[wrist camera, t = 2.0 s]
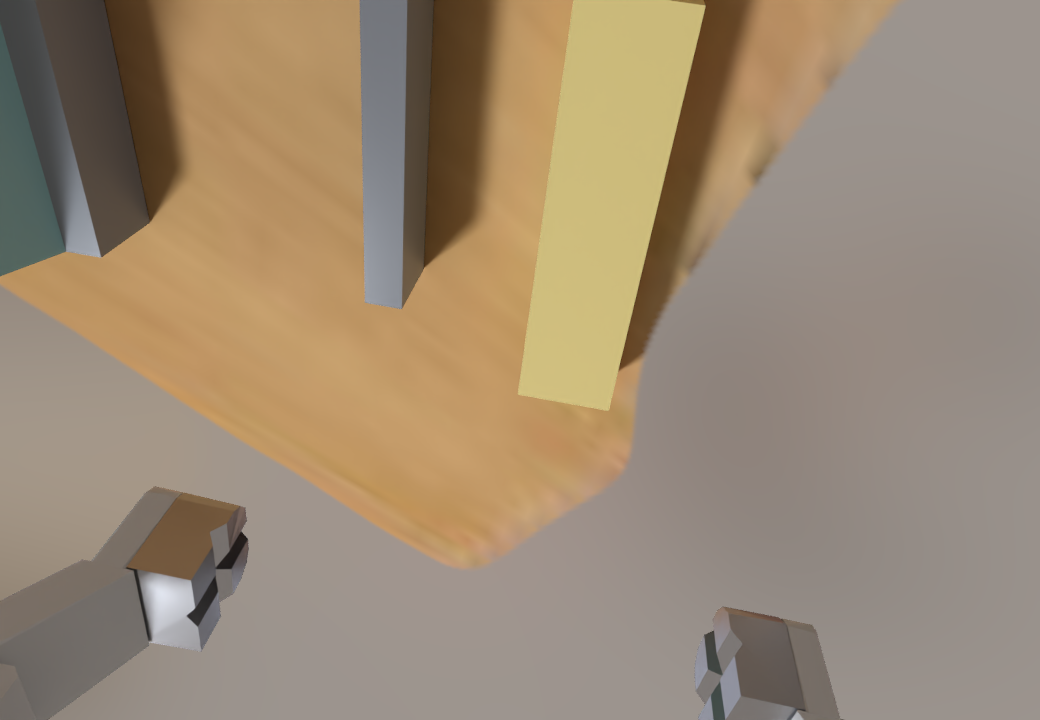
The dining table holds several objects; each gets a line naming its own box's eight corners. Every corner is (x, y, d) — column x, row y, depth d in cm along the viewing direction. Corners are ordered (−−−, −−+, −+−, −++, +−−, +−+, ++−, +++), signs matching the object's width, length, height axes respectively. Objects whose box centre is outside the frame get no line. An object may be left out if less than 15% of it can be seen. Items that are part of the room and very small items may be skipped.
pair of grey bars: (443, -279, 21) (412, -303, 18) (423, 268, 31) (401, 309, 28) (-12, -337, 21) (-113, -369, 18) (117, 217, 32) (66, 251, 29)
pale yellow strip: (699, -9, 24) (705, 5, 22) (611, 370, 33) (608, 410, 31) (582, -26, 24) (575, -14, 22) (527, 356, 33) (517, 394, 31)
